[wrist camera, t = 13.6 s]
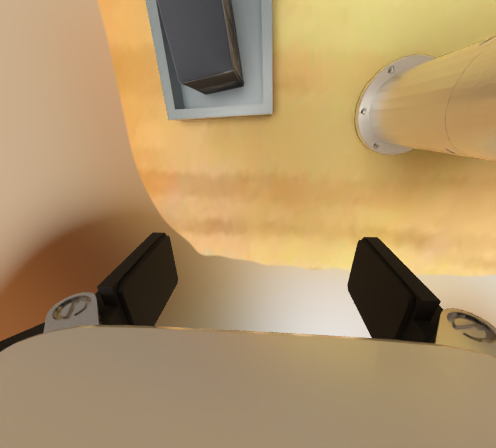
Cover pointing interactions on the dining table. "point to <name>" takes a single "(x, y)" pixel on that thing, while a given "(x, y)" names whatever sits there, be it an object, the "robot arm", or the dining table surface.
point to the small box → (203, 43)
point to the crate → (252, 61)
